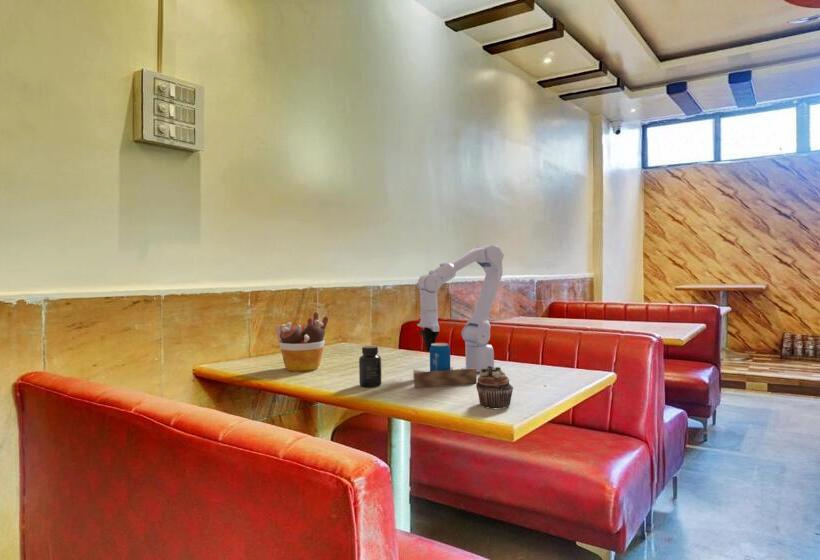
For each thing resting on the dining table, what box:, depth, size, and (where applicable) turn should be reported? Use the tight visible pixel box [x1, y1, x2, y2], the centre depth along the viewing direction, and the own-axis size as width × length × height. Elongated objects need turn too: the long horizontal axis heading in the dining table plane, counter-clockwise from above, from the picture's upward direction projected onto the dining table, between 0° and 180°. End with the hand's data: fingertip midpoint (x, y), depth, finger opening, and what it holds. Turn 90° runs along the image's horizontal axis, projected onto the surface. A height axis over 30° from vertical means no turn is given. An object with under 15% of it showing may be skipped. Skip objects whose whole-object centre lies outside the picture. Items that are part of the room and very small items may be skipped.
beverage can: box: [429, 342, 451, 371], centre depth 173 cm, size 6×6×12 cm
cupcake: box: [475, 366, 514, 409], centre depth 144 cm, size 10×10×10 cm
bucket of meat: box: [274, 312, 329, 373], centre depth 198 cm, size 20×16×20 cm
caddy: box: [412, 366, 478, 389], centre depth 174 cm, size 20×13×4 cm, turn 107°
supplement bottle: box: [358, 345, 382, 389], centre depth 169 cm, size 7×7×12 cm
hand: (429, 350), depth 183 cm, fingers closed
